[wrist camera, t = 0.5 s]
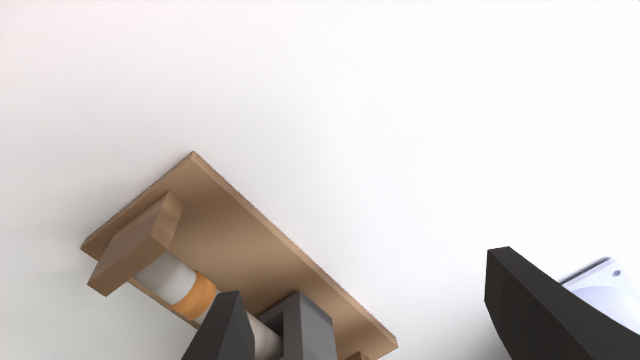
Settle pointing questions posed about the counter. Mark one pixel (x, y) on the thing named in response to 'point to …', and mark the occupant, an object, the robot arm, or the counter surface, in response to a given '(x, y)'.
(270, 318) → the collar
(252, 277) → the towel rail
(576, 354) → the robot arm
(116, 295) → the counter surface
